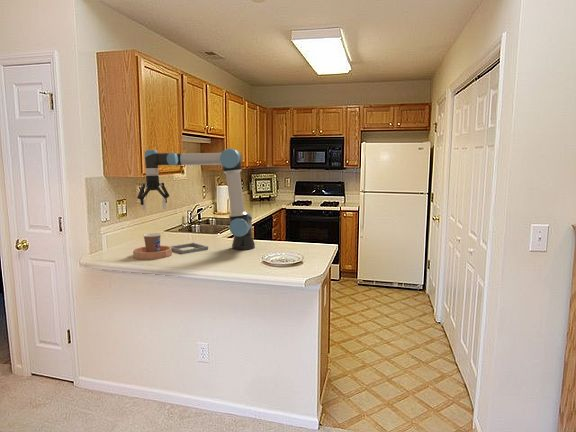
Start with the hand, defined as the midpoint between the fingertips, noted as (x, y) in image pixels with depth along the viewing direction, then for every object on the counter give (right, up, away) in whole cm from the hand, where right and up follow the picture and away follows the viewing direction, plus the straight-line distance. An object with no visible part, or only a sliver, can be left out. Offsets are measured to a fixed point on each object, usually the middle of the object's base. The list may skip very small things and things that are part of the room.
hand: (154, 209), depth 247 cm
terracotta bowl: (+1, -28, -5) cm, 29 cm away
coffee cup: (+1, -28, -5) cm, 28 cm away
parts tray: (+18, -26, +11) cm, 34 cm away
